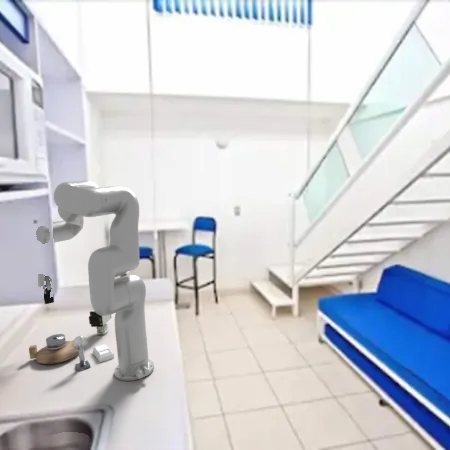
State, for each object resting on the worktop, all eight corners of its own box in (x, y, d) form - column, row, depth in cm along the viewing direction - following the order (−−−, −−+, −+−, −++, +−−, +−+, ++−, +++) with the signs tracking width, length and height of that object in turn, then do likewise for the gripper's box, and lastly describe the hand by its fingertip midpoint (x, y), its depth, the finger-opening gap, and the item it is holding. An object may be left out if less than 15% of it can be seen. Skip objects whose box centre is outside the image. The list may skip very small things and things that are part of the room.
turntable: (83, 341, 144) (82, 331, 144) (78, 359, 130) (76, 348, 129) (36, 348, 141) (34, 338, 140) (25, 367, 126) (23, 356, 126)
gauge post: (91, 367, 126) (87, 336, 125) (77, 371, 124) (73, 340, 122) (88, 362, 130) (84, 332, 128) (74, 366, 127) (71, 336, 126)
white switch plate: (106, 349, 139) (106, 342, 139) (114, 358, 132) (113, 351, 132) (93, 353, 137) (92, 346, 136) (100, 363, 129) (99, 356, 129)
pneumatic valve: (113, 327, 159) (111, 300, 157) (102, 339, 148) (99, 310, 146) (101, 327, 160) (98, 300, 158) (88, 339, 148) (85, 310, 146)
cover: (68, 346, 138) (67, 337, 137) (48, 352, 134) (46, 343, 133) (64, 340, 143) (63, 331, 143) (45, 345, 140) (43, 336, 139)
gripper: (28, 253, 146) (34, 297, 149) (34, 260, 132) (40, 309, 134) (49, 250, 150) (54, 293, 153) (57, 256, 136) (62, 304, 138)
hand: (47, 300), depth 144 cm, fingers open, 6 cm apart
